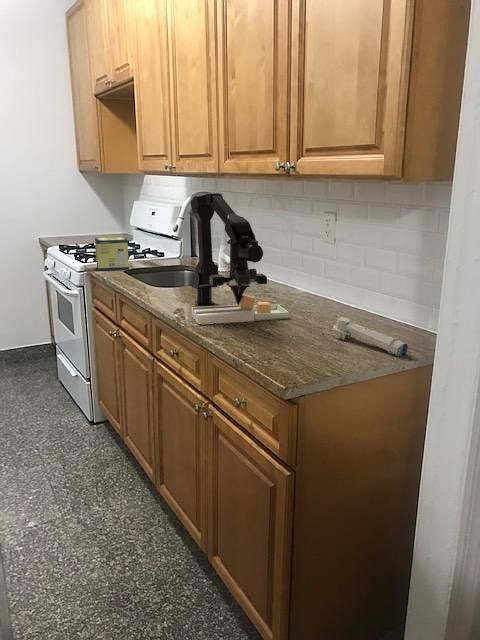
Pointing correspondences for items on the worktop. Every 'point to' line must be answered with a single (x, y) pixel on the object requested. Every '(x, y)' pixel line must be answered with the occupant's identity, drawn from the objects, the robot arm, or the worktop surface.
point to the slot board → (222, 314)
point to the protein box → (112, 254)
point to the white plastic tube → (368, 336)
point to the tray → (276, 313)
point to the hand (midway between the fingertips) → (238, 304)
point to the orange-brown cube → (247, 301)
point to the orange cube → (263, 307)
